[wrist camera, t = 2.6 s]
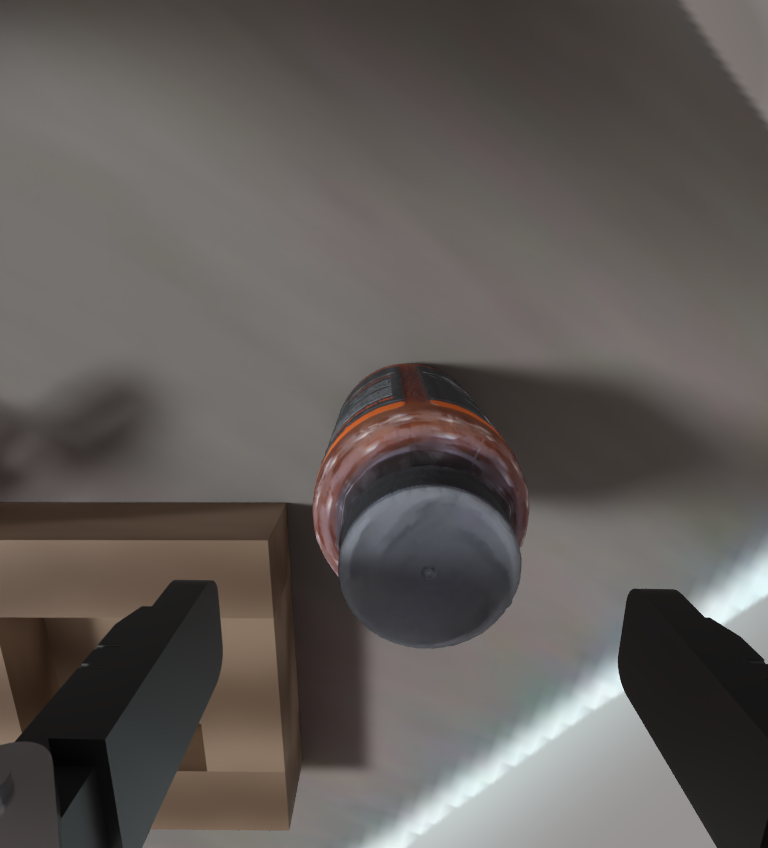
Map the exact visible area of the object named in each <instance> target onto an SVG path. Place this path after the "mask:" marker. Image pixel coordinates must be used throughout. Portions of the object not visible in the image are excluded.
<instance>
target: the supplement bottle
mask: <svg viewBox="0 0 768 848" xmlns="http://www.w3.org/2000/svg"><path fill="white" fill-rule="evenodd" d="M528 516H529V496H528V489H527V485H526V482H525V478H524V475H523V472H522V470H521V468H520V466H519V464H518V462H517V459H516V457H515V456H514V454H513V452H512V451H511V449H510V448H509V446H508V445H507V444H506V442H505V441H504V440H503V438H502V437H501V435H500V434H499V432H498V431H497V430H496V429H495V428H494V427H493V425H492V424H491V423H490V422H489V420H488V419H487V417H486V416H485V415H484V414H483V413H482V411H481V410H480V409H479V408H478V406H477V405H476V404H475V403H474V401H473V400H472V399H471V398H470V396H469V395H468V394H467V393H466V392H465V390H464V389H463V388H462V387H461V386H460V385H459V384H458V383H457V382H456V381H455V380H453V379H452V378H451V377H449V376H448V375H446V374H445V373H443V372H441V371H440V370H437V369H435V368H432V367H429V366H425V365H420V364H409V363H408V364H396V365H390V366H387V367H384V368H382V369H379V370H377V371H375V372H374V373H372V374H370V375H369V376H367V377H366V378H364V379H363V380H362V381H361V382H360V383H359V384H358V385H357V386H356V387H355V388H354V389H353V391H352V392H351V393H350V394H349V396H348V398H347V399H346V401H345V403H344V404H343V406H342V409H341V411H340V414H339V417H338V420H337V423H336V426H335V429H334V431H333V434H332V437H331V439H330V442H329V445H328V448H327V450H326V452H325V456H324V459H323V461H322V463H321V468H320V471H319V474H318V477H317V481H316V485H315V490H314V498H313V521H314V529H315V533H316V538H317V541H318V543H319V545H320V548H321V551H322V553H323V555H324V557H325V559H326V560H327V562H328V563H329V564H330V566H331V568H332V569H333V570H334V572H335V573H336V574H337V576H338V577H339V584H340V587H341V591H342V594H343V596H344V598H345V601H346V603H347V604H348V606H349V608H350V609H351V611H352V612H353V614H354V615H355V616H356V617H357V618H358V619H359V620H360V621H361V622H362V624H364V625H365V626H366V627H367V628H368V629H369V630H371V631H372V632H374V633H375V634H377V635H378V636H380V637H382V638H384V639H386V640H388V641H391V642H393V643H396V644H399V645H404V646H408V647H414V648H431V649H433V648H441V647H446V646H454V645H457V644H460V643H462V642H465V641H468V640H470V639H472V638H474V637H476V636H478V635H480V634H482V633H483V632H484V631H485V630H487V629H488V628H489V627H490V626H492V625H493V624H494V623H495V622H496V621H497V620H498V619H499V618H500V616H501V615H502V614H503V613H504V612H505V610H506V608H508V607H509V606H510V605H511V603H512V599H513V597H514V595H515V593H516V591H517V588H518V585H519V581H520V574H521V554H520V547H521V546H522V544H523V541H524V538H525V535H526V530H527V525H528Z"/></svg>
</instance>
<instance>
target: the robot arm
mask: <svg viewBox="0 0 768 848" xmlns="http://www.w3.org/2000/svg"><path fill="white" fill-rule="evenodd" d="M222 659H223V642H222V631H221V619H220V607H219V595H218V588H217V584H216V583H215V581H213V580H173V581H172V582H171V583H170V584H169V585H168V586H167V588H166V589H165V590H164V591H163V593H162V594H161V595H160V597H159V598H158V599H157V600H156V602H155V603H154V604H153V605H152V606H141V607H140V608H138V609H137V610H135V611H134V612H132V613H131V614H129V615H128V616H126V617H125V618H123V619H122V620H120V621H119V622H117V623H116V624H115V625H114V626H113V627H112V629H111V630H110V631H109V632H108V633H107V634H106V636H105V637H104V638H103V639H102V640H101V641H100V643H99V644H98V645H97V649H94V650H93V651H92V652H91V653H90V654H89V655H88V657H87V658H86V659H85V660H84V661H83V662H82V666H81V668H77V669H76V671H75V672H74V673H73V674H72V675H71V676H70V678H69V679H68V680H67V681H66V682H65V683H64V685H63V686H62V687H61V688H60V689H59V690H58V692H57V693H56V694H55V695H54V696H53V697H52V699H51V700H50V701H49V702H48V703H47V704H46V706H45V707H44V708H43V709H42V710H41V711H40V713H39V714H38V715H37V716H36V717H35V718H34V720H33V721H32V722H31V723H30V724H29V725H28V727H27V728H26V729H25V730H24V731H23V732H22V734H21V735H20V736H19V737H18V738H17V739H16V741H15V742H13V743H7V744H3V745H0V848H142V846H143V844H144V842H145V840H146V838H147V835H148V833H149V831H150V829H151V827H152V824H153V822H154V820H155V818H156V816H157V813H158V811H159V809H160V807H161V805H162V803H163V800H164V798H165V796H166V794H167V792H168V789H169V787H170V785H171V783H172V781H173V779H174V776H175V774H176V772H177V770H178V768H179V765H180V763H181V761H182V759H183V757H184V755H185V752H186V750H187V748H188V746H189V744H190V741H191V739H192V737H193V735H194V733H195V731H196V728H197V726H198V724H199V722H200V720H201V717H202V715H203V713H204V711H205V709H206V706H207V704H208V702H209V700H210V698H211V696H212V693H213V691H214V689H215V687H216V684H217V682H218V679H219V676H220V672H221V667H222ZM618 669H619V675H620V680H621V683H622V686H623V689H624V691H625V693H626V695H627V697H628V698H629V700H630V702H631V704H632V705H633V707H634V708H635V710H636V712H637V714H638V715H639V717H640V719H641V720H642V722H643V724H644V725H645V727H646V729H647V730H648V732H649V734H650V736H651V737H652V738H653V740H654V742H655V744H656V746H657V747H658V749H659V751H660V752H661V754H662V756H663V757H664V759H665V761H666V762H667V764H668V765H669V767H670V769H671V771H672V772H673V774H674V776H675V778H676V779H677V781H678V783H679V784H680V786H681V788H682V789H683V791H684V793H685V794H686V796H687V798H688V799H689V801H690V803H691V804H692V806H693V808H694V810H695V811H696V813H697V815H698V816H699V818H700V820H701V821H702V823H703V825H704V826H705V828H706V830H707V831H708V833H709V835H710V836H711V838H712V840H713V842H714V843H715V845H716V847H717V848H768V664H765V662H764V659H763V658H762V657H761V656H760V655H759V654H758V653H757V652H756V651H755V650H754V649H753V648H752V647H751V646H750V645H748V644H747V643H746V642H745V641H744V640H743V639H742V638H741V637H740V636H738V635H737V634H735V633H734V632H732V631H730V630H729V629H727V628H725V627H724V626H722V625H721V624H719V623H717V622H716V621H714V620H712V619H711V618H705V617H704V616H703V615H702V614H701V613H700V612H699V611H698V610H697V609H696V608H695V607H694V606H693V605H692V604H691V603H690V602H689V601H688V600H687V599H686V598H685V597H684V596H683V595H682V594H681V593H680V592H679V591H677V590H674V589H633V590H631V591H630V592H629V594H628V597H627V601H626V608H625V614H624V621H623V628H622V634H621V641H620V647H619V654H618Z"/></svg>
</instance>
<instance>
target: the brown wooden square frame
mask: <svg viewBox="0 0 768 848" xmlns="http://www.w3.org/2000/svg"><path fill="white" fill-rule="evenodd" d="M173 580H213V581H215V583H216V584H217V588H218V595H219V607H220V619H221V631H222V642H223V659H222V667H221V672H220V676H219V679H218V682H217V684H216V687H215V689H214V691H213V693H212V696H211V698H210V700H209V702H208V704H207V706H206V709H205V711H204V713H203V715H202V717H201V720H200V722H199V724H198V726H197V728H196V731H195V733H194V735H193V737H192V739H191V741H190V744H189V746H188V748H187V750H186V752H185V755H184V757H183V759H182V761H181V763H180V765H179V768H178V770H177V772H176V774H175V776H174V779H173V781H172V783H171V785H170V787H169V789H168V792H167V794H166V796H165V798H164V800H163V803H162V805H161V807H160V809H159V811H158V813H157V816H156V818H155V820H154V822H153V824H152V827H151V829H188V830H289V829H290V824H291V818H292V813H293V808H294V802H295V797H296V792H297V786H298V781H299V776H300V770H301V765H302V747H301V731H300V715H299V699H298V682H297V666H296V650H295V634H294V618H293V601H292V585H291V569H290V553H289V537H288V520H287V504H286V503H0V745H3V744H7V743H13V742H15V741H16V739H17V738H18V737H19V736H20V735H21V734H22V732H23V731H24V730H25V729H26V728H27V727H28V725H29V724H30V723H31V722H32V721H33V720H34V718H35V717H36V716H37V715H38V714H39V713H40V711H41V710H42V709H43V708H44V707H45V706H46V704H47V703H48V702H49V701H50V700H51V699H52V697H53V696H54V695H55V694H56V693H57V692H58V690H59V689H60V688H61V687H62V686H63V685H64V683H65V682H66V681H67V680H68V679H69V678H70V676H71V675H72V674H73V673H74V672H75V671H76V669H77V668H81V666H82V662H83V661H84V660H85V659H86V658H87V657H88V655H89V654H90V653H91V652H92V651H93V650H94V649H97V645H98V644H99V643H100V641H101V640H102V639H103V638H104V637H105V636H106V634H107V633H108V632H109V631H110V630H111V629H112V627H113V626H114V625H115V624H116V623H117V622H119V621H120V620H122V619H123V618H125V617H126V616H128V615H129V614H131V613H132V612H134V611H135V610H137V609H138V608H140V607H141V606H152V605H153V604H154V603H155V602H156V600H157V599H158V598H159V597H160V595H161V594H162V593H163V591H164V590H165V589H166V588H167V586H168V585H169V584H170V583H171V582H172V581H173Z"/></svg>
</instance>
